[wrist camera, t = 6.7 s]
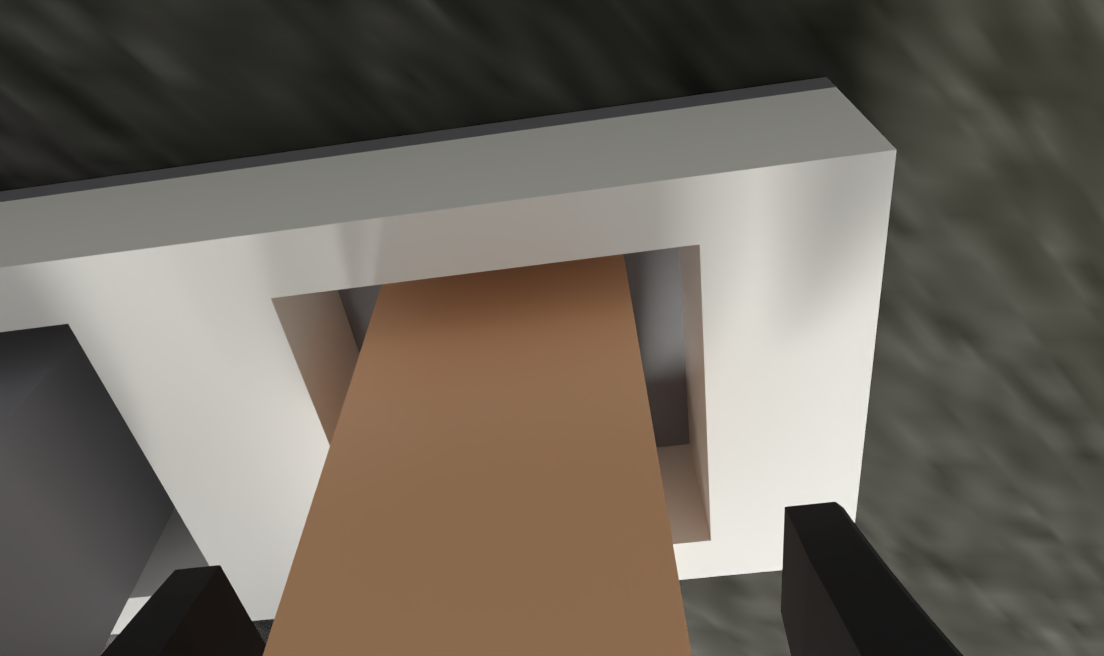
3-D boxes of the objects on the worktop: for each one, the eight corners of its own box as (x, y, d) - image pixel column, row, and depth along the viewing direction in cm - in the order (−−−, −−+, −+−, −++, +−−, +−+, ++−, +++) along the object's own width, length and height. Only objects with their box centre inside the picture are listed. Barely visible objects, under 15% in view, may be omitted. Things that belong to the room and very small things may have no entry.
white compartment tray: (805, 449, 17) (861, 591, 14) (-72, 543, 18) (-191, 689, 15) (826, 76, 12) (914, 169, 10) (-336, 238, 14) (-575, 362, 11)
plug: (636, 413, 16) (704, 869, 9) (437, 434, 16) (364, 894, 9) (620, 234, 13) (693, 669, 7) (389, 262, 14) (246, 706, 7)
